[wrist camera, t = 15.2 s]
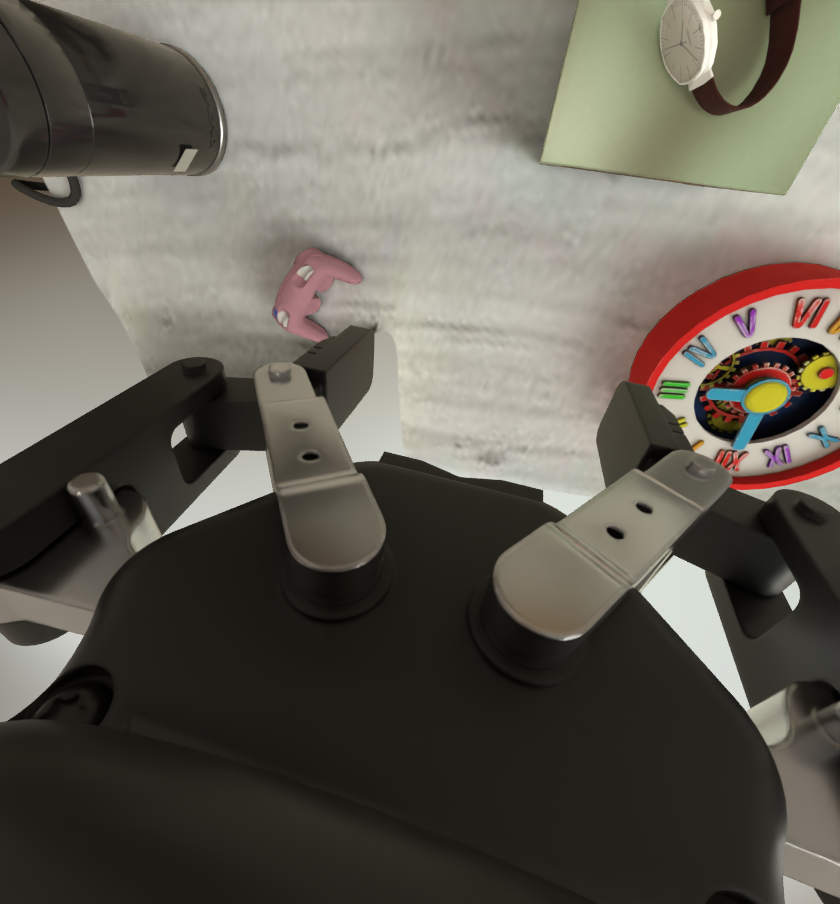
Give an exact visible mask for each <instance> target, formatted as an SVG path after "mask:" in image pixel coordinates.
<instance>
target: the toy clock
mask: <svg viewBox="0 0 840 904" xmlns="http://www.w3.org/2000/svg"><path fill="white" fill-rule="evenodd" d="M629 382H632V383H637V384H642V385H647V386H650V388H651V390H652V392H653V394H654V396H655V398H656V400H657V402H658V404H660V405H663V406H664V407H666V408H667V409H668V410H669V411H670V412H672V413H673V414H674V415H675V417H676V419H677V421H678V422H679V424H680V426H679V427H681V428H682V430H683V431H684V435H686V437H687V439H688V441H689V442H690V444H691V446H692V448H693V450H694V452H696V453H699V454H702V455H704V456H707V457H709V458H711V459H713V460H714V461H716V462H718V463H719V464H721V465H722V466H723V467H724V468H725V469H726V470H728V472H729V473H730V474H731V476H732V479H733V483H732V484H731V486H730V488H732V489H735V490H750V489H765V488H772V487H778V486H784V485H789V484H793V483H796V482H800V481H804V480H808V479H811V478H814V477H816V476H819V475H822V474H824V473H827V472H830V471H833V470H835V469H837V468H839V467H840V270H837V269H834V268H830V267H826V266H823V265H819V264H809V263H797V262H792V263H779V264H768V265H764V266H760V267H755V268H751V269H746V270H743V271H740V272H737V273H735V274H732V275H729V276H726V277H724V278H721V279H719V280H717V281H715V282H713V283H711V284H709V285H707V286H705V287H703V288H701V289H700V290H698V291H696V292H695V293H693V294H692V295H690V296H689V297H687V298H686V299H685V300H683V301H682V302H680V303H679V304H677V305H676V306H675V307H674V308H673V309H672V310H671V311H670V312H669V313H667V314H666V315H665V316H664V317H663V318H662V319H661V320H660V321H659V322H658V323H657V325H656V326H655V327H654V328H653V329H652V331H651V332H650V333H649V334H648V335H647V337H646V339H645V340H644V342H643V344H642V345H641V347H640V349H639V350H638V352H637V354H636V357H635V360H634V362H633V365H632V367H631V372H630V377H629Z"/></svg>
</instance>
